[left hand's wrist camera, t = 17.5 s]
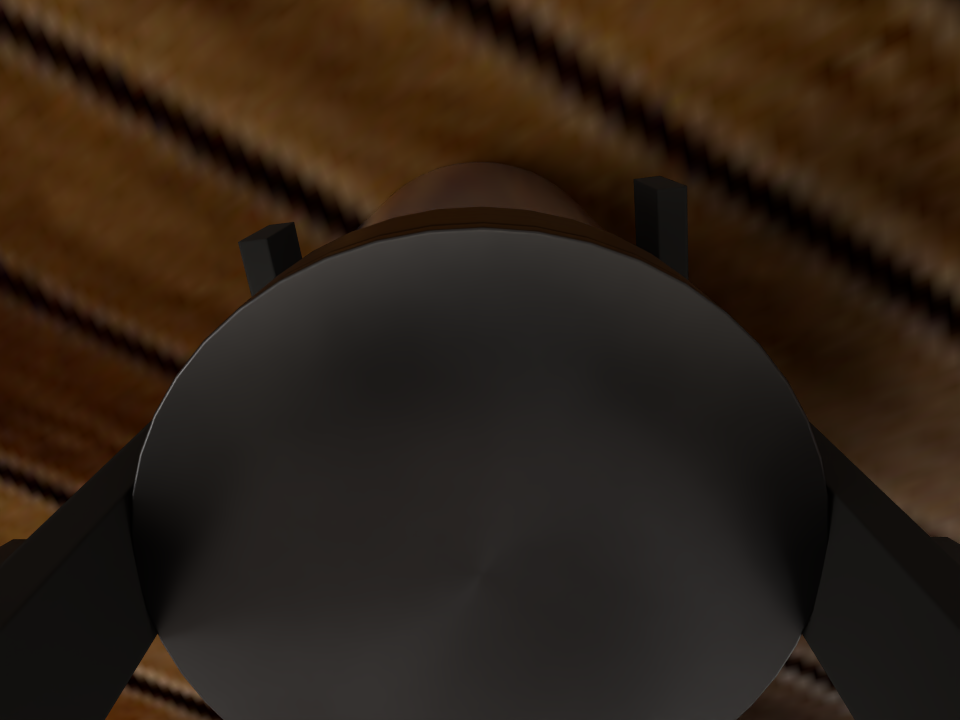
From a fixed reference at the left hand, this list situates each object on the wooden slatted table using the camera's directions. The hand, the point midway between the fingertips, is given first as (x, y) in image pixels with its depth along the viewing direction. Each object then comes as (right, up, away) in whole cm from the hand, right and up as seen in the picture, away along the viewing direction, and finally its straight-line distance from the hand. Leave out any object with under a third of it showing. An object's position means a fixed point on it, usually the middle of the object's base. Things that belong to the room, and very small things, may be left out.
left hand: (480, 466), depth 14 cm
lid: (0, -1, -3) cm, 3 cm away
